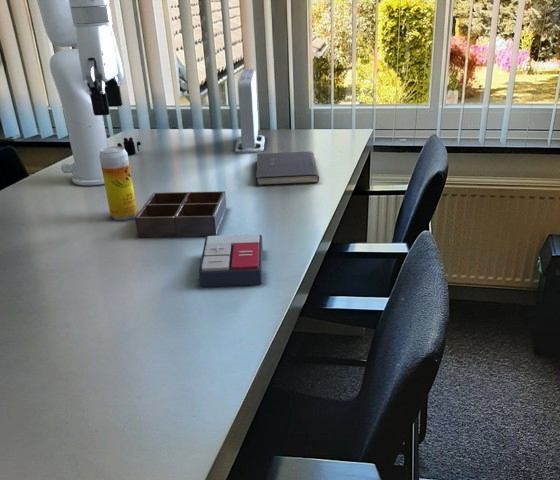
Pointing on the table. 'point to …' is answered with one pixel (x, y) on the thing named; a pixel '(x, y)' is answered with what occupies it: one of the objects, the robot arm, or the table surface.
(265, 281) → the table surface
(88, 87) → the robot arm
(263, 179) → the hardcover book
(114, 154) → the beer can
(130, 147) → the wireless earbuds
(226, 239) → the calculator
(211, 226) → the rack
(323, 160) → the table surface
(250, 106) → the network device
